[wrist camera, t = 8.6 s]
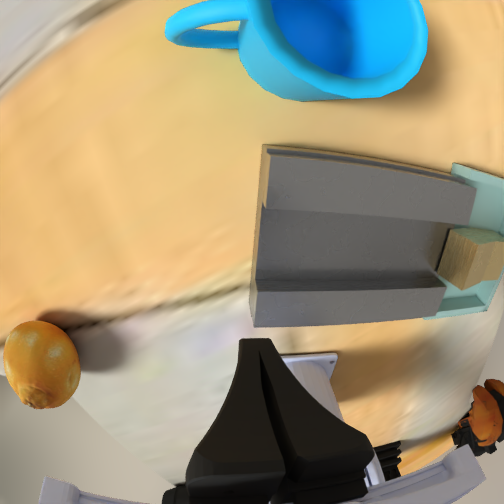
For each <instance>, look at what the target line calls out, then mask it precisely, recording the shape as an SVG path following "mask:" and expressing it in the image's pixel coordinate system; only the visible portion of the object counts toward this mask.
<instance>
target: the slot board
mask: <svg viewBox="0 0 504 504" xmlns="http://www.w3.org/2000/svg"><path fill="white" fill-rule="evenodd" d="M465 182H466V180H464V179H462V178H460V177H457V176H455V175H452V174H450V173H445V172H441V171H437V170H433V169H428V168H424V167H419V166H414V165H409V164H404V163H399V162H394V161H389V160H383V159H377V158H371V157H365V156H359V155H352V154H345V153H338V152H331V151H323V150H314V149H306V148H296V147H285V146H274V145H262V154H261V166H260V178H259V189H258V201H257V213H256V225H255V236H254V248H253V260H252V271H251V283H250V295H249V305H250V311H251V317H252V319H253V326H254V327H300V326H324V325H342V324H358V323H371V322H383V321H394V320H405V319H414V318H423V317H432V316H436V313H437V311H438V309H439V306H440V304H441V302H442V299H443V297H444V294H445V292H446V289H447V286H446V285H445V284H444V283H443V282H442V281H441V280H440V279H439V278H438V277H439V275H438V274H436V273H437V270H438V267H439V264H440V261H441V258H442V255H443V252H444V249H445V246H446V242H447V239H448V236H449V232H450V230H451V229H454V227H455V224H460V225H468V224H469V220H470V217H471V213H472V209H473V205H474V201H475V197H476V192H477V188H475V187H473V186H470V185H468V184H466V183H465Z"/></svg>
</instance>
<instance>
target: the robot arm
mask: <svg viewBox="0 0 504 504" xmlns="http://www.w3.org/2000/svg"><path fill="white" fill-rule="evenodd" d="M337 359H338V356H337V354H336V353H323V354H309V355H292V356H280V355H279V353H278V351H277V350H276V348H275V346H274V345H273V343H272V341H271V339H269V338H248V339H241V340H239V351H238V363H237V367H236V371H235V375H234V378H233V381H232V384H231V387H230V389H229V392H228V394H227V397H226V399H225V401H224V403H223V406H222V408H221V409H220V411H219V413H218V415H217V417H216V419H215V421H214V422H213V424H212V425H211V427H210V429H209V430H208V432H207V433H206V435H205V436H204V438H203V439H202V440H201V442H200V443H199V444H198V446H197V447H196V448H195V450H194V453H193V455H192V457H191V459H190V462H189V464H188V467H187V470H186V489H187V492H188V495H189V504H451V503H453V502H455V501H457V500H458V499H460V498H461V497H463V496H464V495H466V494H467V493H468V492H470V491H471V490H473V489H474V488H475V487H477V486H478V485H479V484H481V483H482V482H483V481H485V479H486V477H485V475H484V473H483V471H482V469H481V467H480V465H479V463H478V461H477V459H476V458H475V456H474V454H473V452H472V450H471V448H470V446H469V445H468V444H466V445H464V446H462V447H460V448H458V449H456V450H454V451H452V452H451V453H449V454H448V455H447V456H445V457H444V459H443V460H442V461H440V462H437V463H435V464H433V465H430V466H428V467H425V468H423V469H420V470H418V471H415V472H412V473H410V474H407V475H404V476H401V477H398V478H395V479H392V480H389V481H386V482H385V478H384V475H383V472H382V469H381V466H380V463H379V460H378V458H377V455H376V453H375V451H374V449H373V447H372V445H371V443H370V441H369V439H368V438H367V436H366V434H364V433H362V432H360V431H358V430H356V429H355V428H353V427H351V426H349V425H348V424H346V423H345V422H344V419H343V417H342V414H341V411H340V408H339V406H338V403H337V400H336V398H335V395H334V392H333V389H332V387H331V384H330V378H331V375H332V373H333V370H334V367H335V365H336V362H337ZM39 504H147V503H139V502H133V501H127V500H121V499H115V498H110V497H105V496H100V495H96V494H91V493H87V492H84V491H80V490H79V489H78V488H77V487H76V486H75V485H73V484H71V483H69V482H66V481H62V480H59V479H56V478H53V477H50V476H45V477H44V482H43V486H42V490H41V494H40V499H39Z"/></svg>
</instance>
